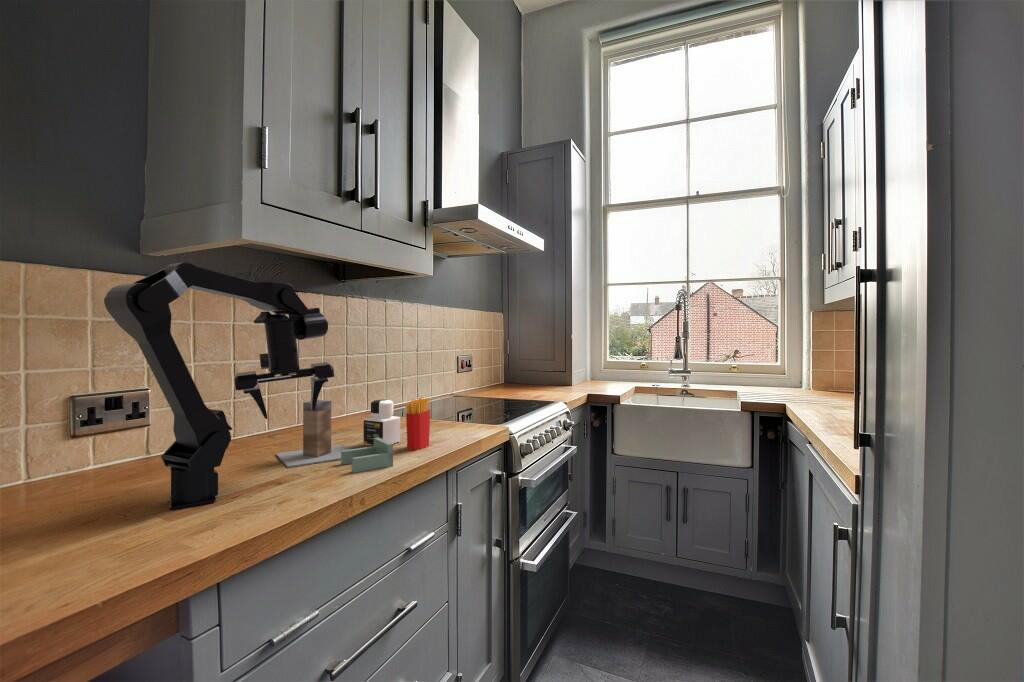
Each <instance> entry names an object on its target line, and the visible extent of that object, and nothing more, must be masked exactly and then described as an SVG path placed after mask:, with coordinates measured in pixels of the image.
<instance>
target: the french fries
mask: <svg viewBox="0 0 1024 682" xmlns="http://www.w3.org/2000/svg"><path fill="white" fill-rule="evenodd" d="M429 401H430V399H429V398H423V397H420V398H418V399H412V400H411V401H410V403H409V402H407V403H405V409H406V412H405V418H406V421H405V422H406V445H407V447H406V448H407V450H408V449H412V450H411V451H417V450H416V449H420V450H423V449H425V448H427V447H426V446H428V445H429V446H430V426H431V409H429V404H430V403H429ZM429 446H428V447H429ZM424 447H425V448H424ZM422 448H423V449H422Z"/></svg>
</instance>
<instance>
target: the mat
mask: <svg viewBox="0 0 1024 682" xmlns="http://www.w3.org/2000/svg"><path fill="white" fill-rule="evenodd" d="M344 450H351V449H350V448H348V447H347V446H344V445H343V444H338V445H337V444H336V445H331V453H330V454H327V455H323V456H320V457H310V456H303V449H300V450H291V451H285V452H284V451H283V452H276V453H275V456H276V455H277V456H278V457H279V458H278V457H277V456H276V457H277V458H278V459H279V460H280V461H281V462H282V463H283V464H284V466H286V468H287V469H289V467H291V468H297V467H302V466H301V465H304V466H308V465H307V464H310V465H315V464H314V463H317V464H322V463H321V462H323V463H328V462H327V461H330V462H335V460H337V461H341V451H344ZM296 466H297V467H296Z"/></svg>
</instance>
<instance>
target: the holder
mask: <svg viewBox="0 0 1024 682" xmlns="http://www.w3.org/2000/svg"><path fill="white" fill-rule="evenodd" d="M340 464H341V465H343V466H345V464H346V465H350V464H351V473H352V474H353V473H355V472H356V473H361V472H360V471H362V472H367V471H373V470H378V468H379V469H384V468H383V467H385V468H390V467H389V466H391V467H393V466H394V444H392V443H390V442H387V441H385V440H383V439H381V438H379V437H378V438H374V446H367V447H366V446H365V447H359V448H353V449H352V448H351V449H350V450H344V451H341V460H340ZM372 469H373V470H372ZM356 473H355V474H356Z"/></svg>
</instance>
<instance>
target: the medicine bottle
mask: <svg viewBox="0 0 1024 682" xmlns="http://www.w3.org/2000/svg"><path fill="white" fill-rule="evenodd" d="M378 437H379V438H381V439H383V440H385V441H387V442H390V443H392V444H393V445H395V444H398V443H397V442H399V443H400V442H401V417H400V416H394V401H392V400H391V399H375V400H373V401H371V402H370V416H369V417H365V418H363V445H365V444H368V445H367V446H371V445H374V438H378ZM394 443H395V444H394Z"/></svg>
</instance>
